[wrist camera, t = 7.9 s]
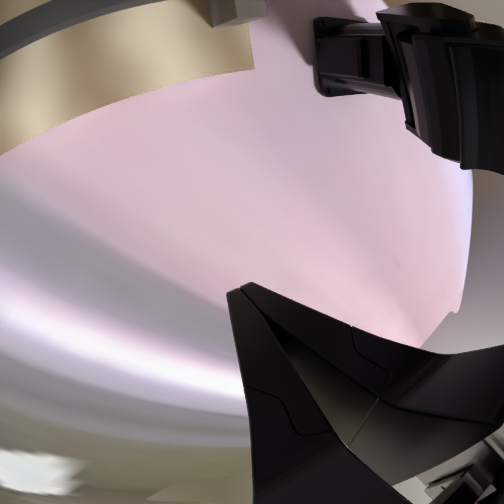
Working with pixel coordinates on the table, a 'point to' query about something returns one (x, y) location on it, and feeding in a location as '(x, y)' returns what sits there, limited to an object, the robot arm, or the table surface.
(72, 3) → the long grey square rod
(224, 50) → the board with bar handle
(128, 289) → the table surface
